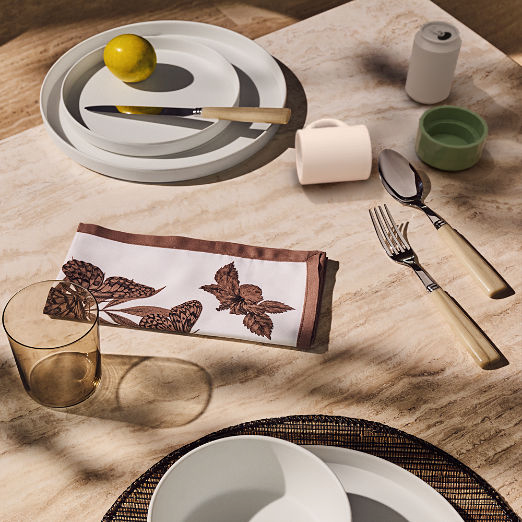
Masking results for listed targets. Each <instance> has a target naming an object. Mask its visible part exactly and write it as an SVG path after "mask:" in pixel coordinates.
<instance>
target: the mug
mask: <svg viewBox="0 0 522 522" xmlns="http://www.w3.org/2000/svg"><path fill="white" fill-rule="evenodd" d="M294 139H295V140H294V153H295V154H294V155H295V167H296V174H297V179H298V182H299V184H300V185H315V184H327V183H338V182H340V183H341V182H351V181H352V182H353V181H364V180H365V181H366V180H368V179H369V178H370V175H371V173H372V172H371V171H372V166H373V164H372V163H373V162H372V161H373V150H372V140H371V136H370V131H369V130H368V128H367V126H366V124H356V125H349V124H347V123H346V122H344V121H343V120H340V119H336V118H332V117H327V118H321V119H317V120H315V121H313V122H311V123H309V124H308V125H306V126H305V128H302V129H297V130H296V132H295V138H294Z"/></svg>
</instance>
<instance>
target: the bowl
mask: <svg viewBox="0 0 522 522" xmlns="http://www.w3.org/2000/svg"><path fill="white" fill-rule="evenodd" d="M488 135H489V126H488V124H487V122H486V121H485V119H484V118H483V117H482V116H481V115H480V114H478V113H477V112H475V111H474V110H472V109H469V108H467V107H463V106H459V105H450V104H446V105H445V104H444V105H437V106H434V107H431V108H429V109H427V110H426V111H424V112H422V114H421V115H420V117H419V119H418V123H417V129H416V133H415V137H414V145H413V148H414V151H415V153H416V155H417V156H418V157H419V158H420V160H422V162H424V163H426V164H428V165H429V166H431V167H433V168H436V169H440V170H443V171H450V172H451V171H463V170H466V169H469V168H472V167H473V166H475V165H476V164H477V163H478V162H479V161H480V159H481V157H482V154H483V151H484V148H485V144H486V141H487V138H488Z"/></svg>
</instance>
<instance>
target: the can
mask: <svg viewBox="0 0 522 522" xmlns="http://www.w3.org/2000/svg"><path fill="white" fill-rule="evenodd" d="M460 35H461V33H460V30H459V28H458V27H457V26H456V25H455V24H452V23H450V22H447V21H443V20H442V21H441V20H432V21H431V20H430V21H427V22H425V23H423V24H422V25H421V26H420V27H419V30H418V31H416V33H415V34H414V37H413V43H412V48H411V53H410V59H409V65H408V69H407V76H406V81H405V87H404V89H405V92H406V94H407V95H408V96H409V97H410V98H411V99H412V100H413V101H415V102H417V103H420V104H424V105H434V104H438V103H440V102H442V101H444V100H446V99H447V98H449V96H450V93H451V89H452V85H453V80H454V77H455V72H456V69H457V64H458V60H459V56H460V52H461V47H462V42H463V40H462V38H461V36H460Z"/></svg>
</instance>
